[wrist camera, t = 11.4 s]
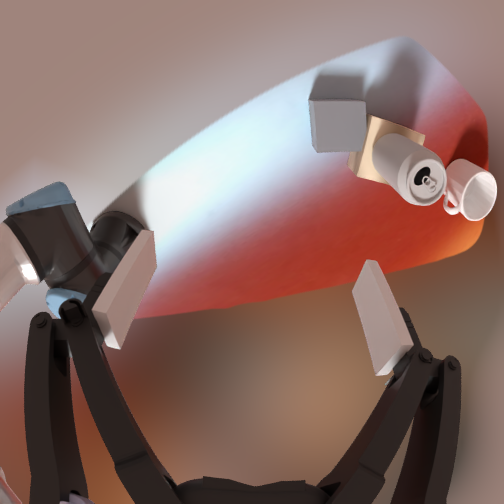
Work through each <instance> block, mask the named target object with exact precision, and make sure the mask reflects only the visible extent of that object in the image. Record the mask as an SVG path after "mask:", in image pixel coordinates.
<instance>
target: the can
mask: <svg viewBox="0 0 504 504" xmlns="http://www.w3.org/2000/svg"><path fill="white" fill-rule="evenodd" d="M372 162H373V165H374V168H375V169H376V170H377V172H378V173H379V174H380V175H381V176H382V177H383V178H384V179H385V180H386V181H387V182H388V183H389V184H390V185H391V186H392V187H393V188H394V189H395V190H396V191H397V192H398V193H399V194H400V195H401V196H402V197H403V198H404V199H405V200H406V201H408V202H409V203H411V204H415V205H422V206H425V205H430V204H433V203H435V202H436V201H437V200H438V199H439V198H440V197H441V196H442V194H443V193H444V191H445V188H446V184H447V174H446V170H445V168H444V165H443V163H442V161H441V159H440V158H439V157H438V156H437V155H436V154H435V153H434V152H432V151H430V150H429V149H427V148H425V147H423V146H422V145H420V144H418V143H416V142H414V141H412V140H410V139H408V138H406V137H404V136H402V135H400V134H397V133H390V134H387V135H384V136H383V137H381V138H380V139H379V140H378V141H377V143H376V144H375V146H374V148H373V152H372Z"/></svg>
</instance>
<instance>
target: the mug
mask: <svg viewBox="0 0 504 504" xmlns="http://www.w3.org/2000/svg"><path fill="white" fill-rule="evenodd" d="M446 174H447V184H446V188H445V191H444V194H445V198H444V204H443V206H444V209H445V211H446V212H448V213H449V214H451V215H453V214H457V213H458V212H459V211H460V212H461V213H462V214H463V215H464V216H465V217H466V218H467V219H468V220H471V221H478V220H480V219H482V218H484V217H485V216H486V215H487V214H488V213H489V212H490V211H491V209H492V207H493V205H494V202H495V200H496V195H497V186H496V181H495V179H494V177H493V176H492V175H491V174H490V173H489V172H488V171H486V170H484V169H482V168H480V167H479V166H477V165H475V164H473V163H471V162H469V161H467V160H465V159H457V160H454V161H453V162H452V163H450V165H449V166H448V167H447V169H446ZM448 200H449V201H450V202H451V203H452V204H453V205H454V206H455V207H454V208H450V207H448V206H447V202H448Z"/></svg>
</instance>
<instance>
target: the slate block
mask: <svg viewBox="0 0 504 504" xmlns="http://www.w3.org/2000/svg"><path fill="white" fill-rule="evenodd" d="M308 101H309V111H310V123H311V135H312V146H313V147H314V149H315V150H316V152H317V153H323V152H359V151H362V147H363V143H364V139H365V135H366V131H367V124H366V102H365V101H360V100H356V99H313V100H308Z"/></svg>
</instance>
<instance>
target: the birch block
mask: <svg viewBox="0 0 504 504" xmlns="http://www.w3.org/2000/svg"><path fill="white" fill-rule="evenodd" d="M366 124H367V131H366V135H365V139H364V143H363V147H362V151H359V152H350V155H349V159H348V163H347V165H348V167H349V168H350V169H351V170H352V171H353V172H354V174H355V175H356V176H357V177H361V178H366V179H370V180H373V181H377V182H381V183H385V184H389V183H388V182H387V181H386V180H385V179H384V178H383V177H382V176H381V175H380V174H379V173H378V172H377V170H376V169H375V168H374V165H373V162H372V152H373V148H374V146H375V144H376V143H377V141H378V140H379V139H380V138H381V137H383V136H384V135H387V134H390V133H397V134H400V135H402V136H404V137H406V138H408V139H410V140H412V141H414V142H416V143H418V144H420V145H422V146H423V142H424V139H425V135H423V134H421V133H418V132H416V131H414V130H412V129H409V128H407V127H404V126H402V125H399V124H396V123H393V122H391V121H388V120H385V119H382V118H379V117H376V116H373V115H370V114H366ZM389 185H390V184H389Z"/></svg>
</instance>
